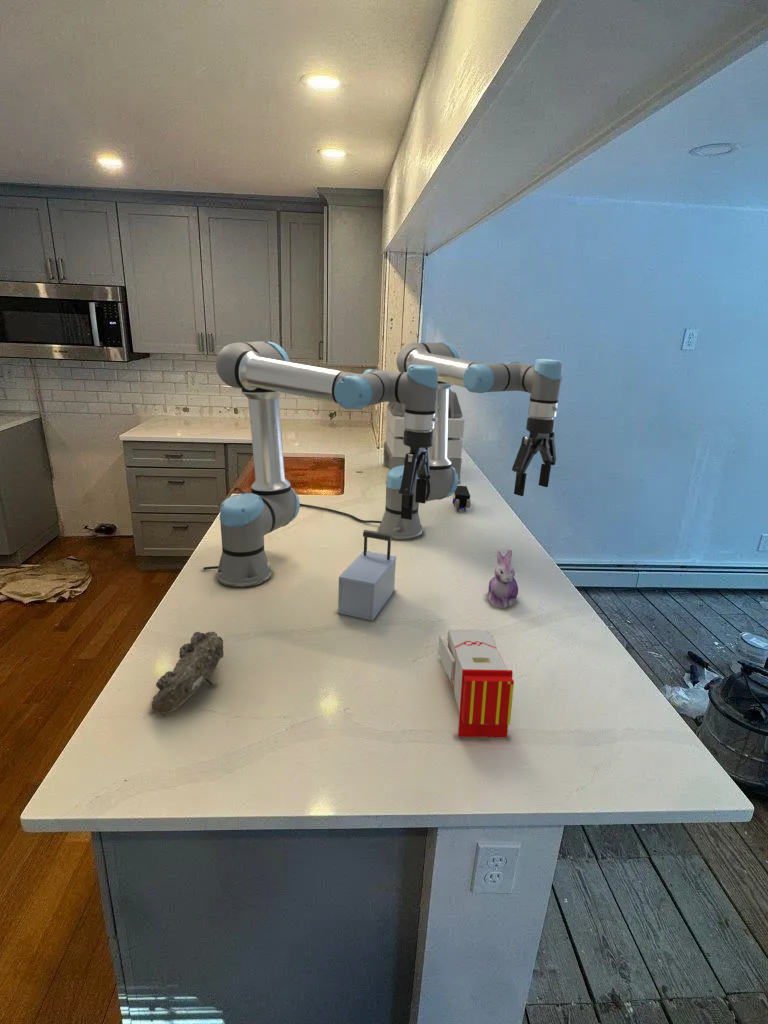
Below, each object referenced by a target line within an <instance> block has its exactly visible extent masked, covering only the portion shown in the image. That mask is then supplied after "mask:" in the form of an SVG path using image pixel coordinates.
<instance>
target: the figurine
mask: <svg viewBox="0 0 768 1024" xmlns="http://www.w3.org/2000/svg"><path fill="white" fill-rule="evenodd" d="M495 555H496V566H495V567H494V573H493V574H494V576H493V577H492V578H491V579H490V580H489V582H488V591H487V600H488V601H489V603H490V605H491V606H492V607H495V608H500V609H506V608H507V607H511V606H513V605H514V604H515V603H516V601H517V597H518V595H519V585H518V583H517V579H515V575H516V571H515V567H514V565H513V564H512V558H513V557H512V556H513V550H512V548H509V549H508V550H507V551H506V553H505V555H504V556H503V554H502V551H500V550H499V549H497V550H496V551H495Z"/></svg>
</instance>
